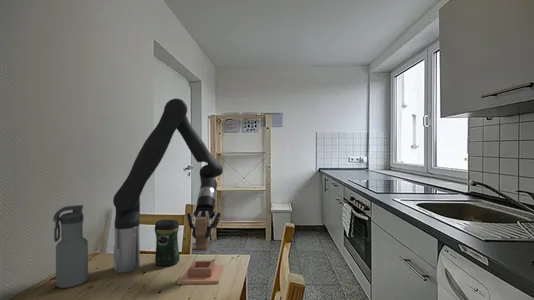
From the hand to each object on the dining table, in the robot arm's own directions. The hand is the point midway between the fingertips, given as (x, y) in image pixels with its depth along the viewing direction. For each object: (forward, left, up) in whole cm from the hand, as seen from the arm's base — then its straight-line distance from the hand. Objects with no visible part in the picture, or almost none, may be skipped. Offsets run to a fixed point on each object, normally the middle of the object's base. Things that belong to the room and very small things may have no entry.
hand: (200, 237), depth 109 cm
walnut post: (+1, +2, -5) cm, 5 cm away
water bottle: (-40, +25, -15) cm, 49 cm away
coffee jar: (-6, +23, -15) cm, 28 cm away
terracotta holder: (+1, +2, -15) cm, 15 cm away
